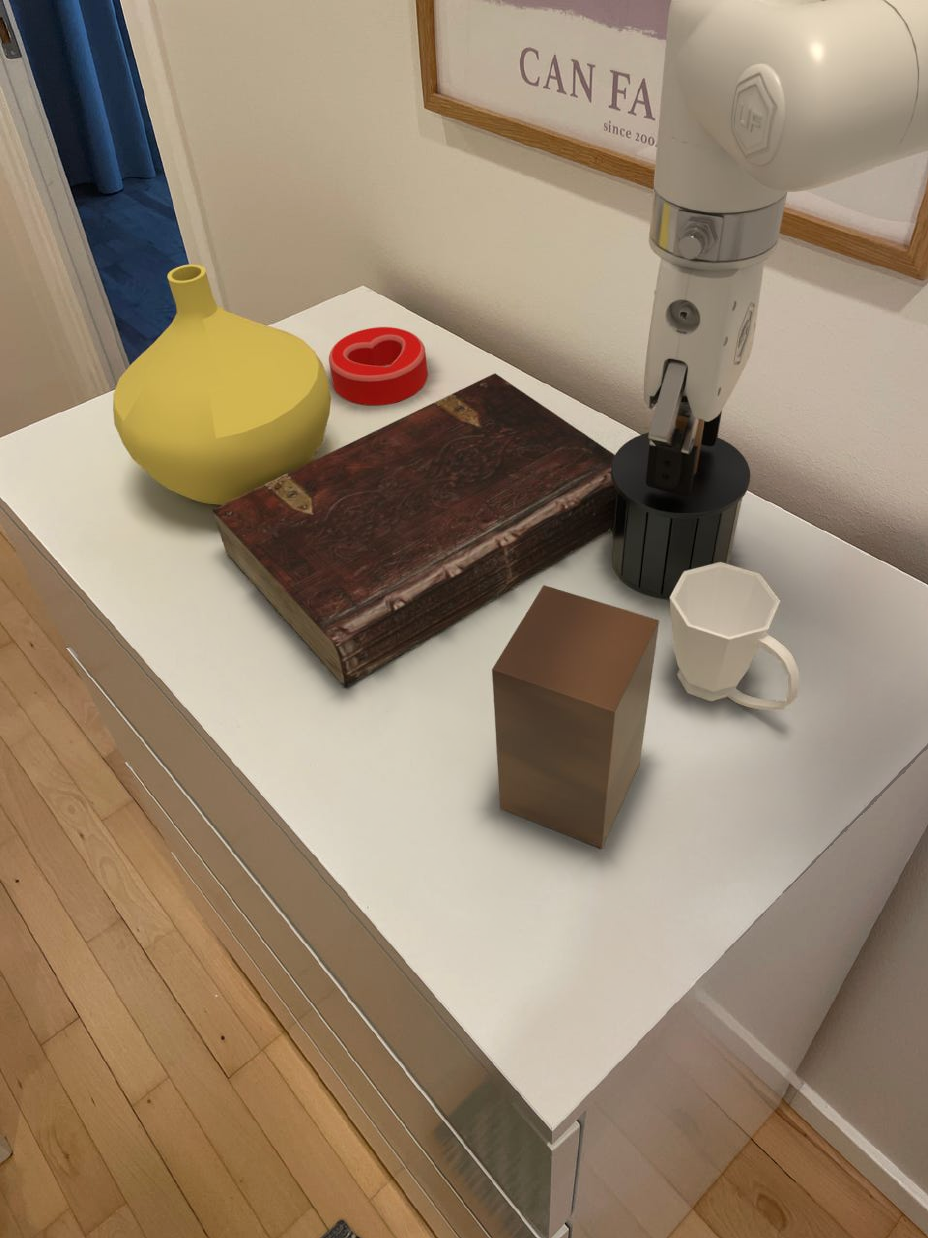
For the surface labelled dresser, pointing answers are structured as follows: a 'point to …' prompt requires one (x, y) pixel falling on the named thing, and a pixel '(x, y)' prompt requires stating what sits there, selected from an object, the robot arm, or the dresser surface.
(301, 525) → the book
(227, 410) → the vase
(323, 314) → the dresser surface
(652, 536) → the dark grey slatted bucket
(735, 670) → the cup
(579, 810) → the stand
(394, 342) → the decorative ornament
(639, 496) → the lid
